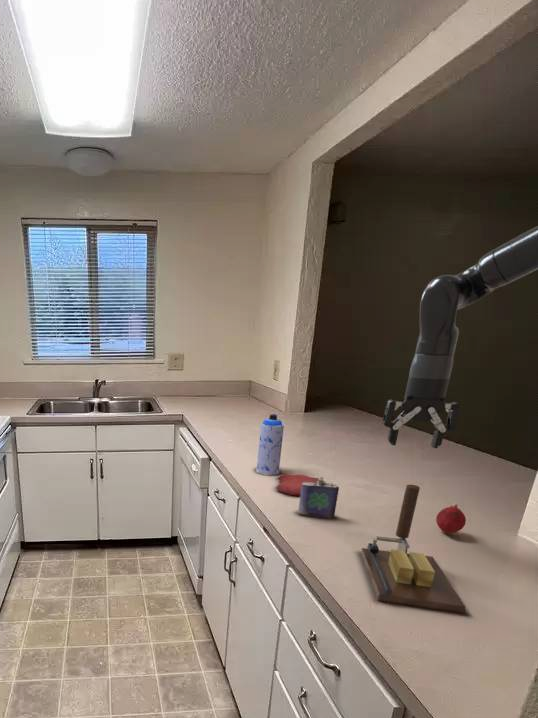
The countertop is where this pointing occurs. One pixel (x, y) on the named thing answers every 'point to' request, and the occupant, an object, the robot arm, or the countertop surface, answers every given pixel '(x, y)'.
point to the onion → (451, 519)
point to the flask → (318, 499)
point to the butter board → (412, 591)
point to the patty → (293, 483)
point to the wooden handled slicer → (401, 521)
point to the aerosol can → (270, 446)
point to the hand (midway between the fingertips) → (413, 445)
